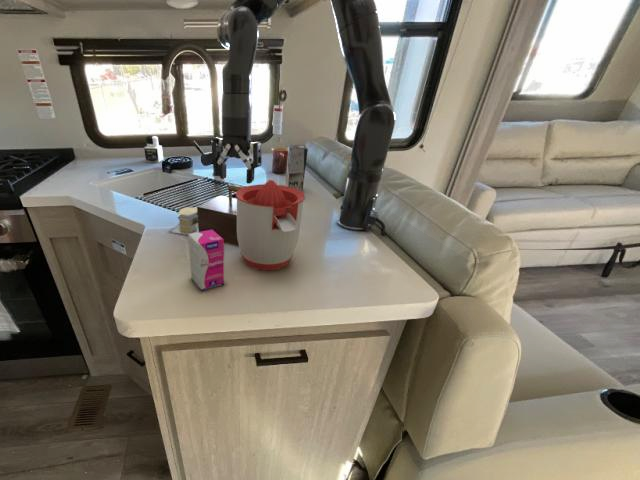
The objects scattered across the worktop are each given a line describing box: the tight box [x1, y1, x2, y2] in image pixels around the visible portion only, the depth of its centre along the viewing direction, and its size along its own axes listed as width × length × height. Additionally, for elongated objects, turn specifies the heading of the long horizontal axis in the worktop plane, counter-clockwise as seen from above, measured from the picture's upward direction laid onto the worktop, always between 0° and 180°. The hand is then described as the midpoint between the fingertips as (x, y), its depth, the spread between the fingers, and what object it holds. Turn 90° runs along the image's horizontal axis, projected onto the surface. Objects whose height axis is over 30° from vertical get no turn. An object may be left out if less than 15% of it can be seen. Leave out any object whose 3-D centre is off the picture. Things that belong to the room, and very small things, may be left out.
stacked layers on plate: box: [169, 206, 199, 236], centre depth 97 cm, size 10×9×6 cm
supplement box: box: [187, 230, 225, 292], centre depth 70 cm, size 6×6×12 cm
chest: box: [197, 210, 239, 247], centre depth 94 cm, size 11×14×8 cm
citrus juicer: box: [235, 179, 306, 271], centre depth 76 cm, size 16×17×20 cm
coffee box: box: [284, 144, 309, 192], centre depth 129 cm, size 9×6×16 cm
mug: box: [271, 146, 289, 174], centre depth 152 cm, size 12×9×10 cm
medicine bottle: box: [143, 135, 164, 164], centre depth 169 cm, size 7×7×12 cm
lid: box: [196, 184, 245, 218], centre depth 90 cm, size 12×14×5 cm
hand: (236, 180), depth 91 cm, fingers open, 8 cm apart
